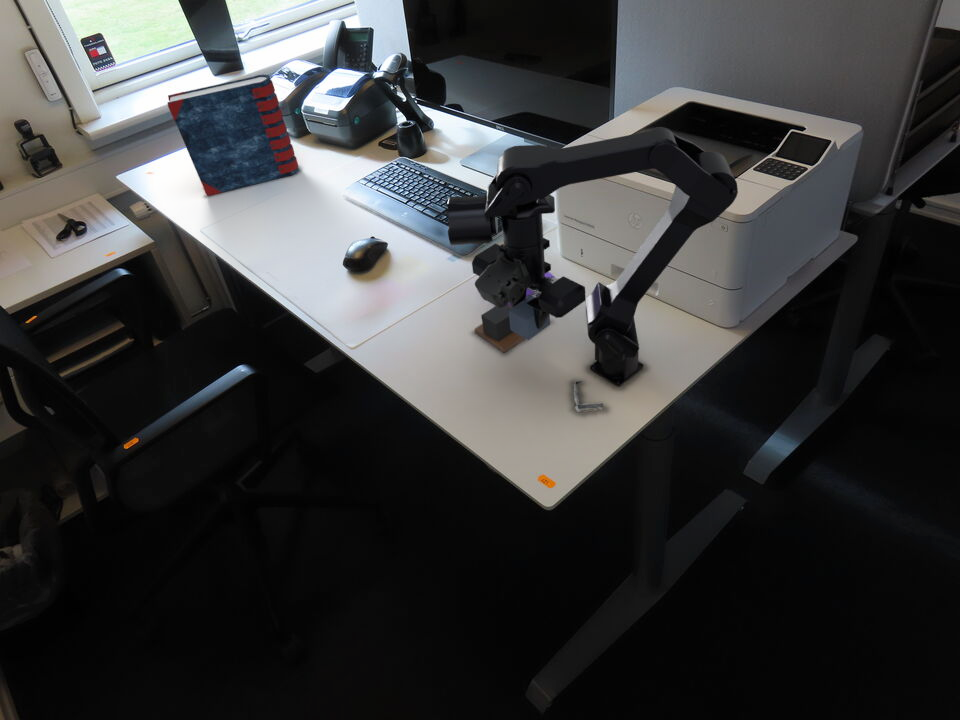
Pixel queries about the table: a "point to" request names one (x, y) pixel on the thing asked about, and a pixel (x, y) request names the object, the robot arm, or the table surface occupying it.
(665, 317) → the table surface
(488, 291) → the robot arm
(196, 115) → the book
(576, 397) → the bent metal strip
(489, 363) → the table surface
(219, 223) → the table surface
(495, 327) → the dark grey cube
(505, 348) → the brown wooden board
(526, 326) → the blue-grey block
